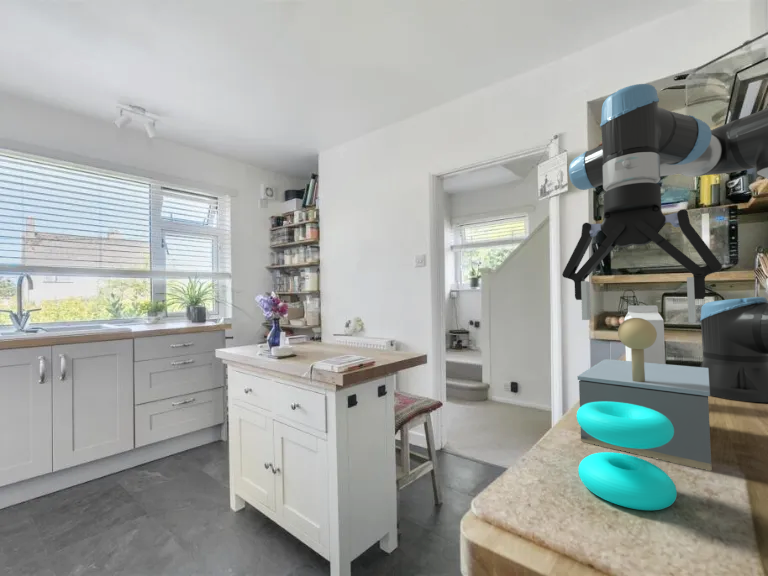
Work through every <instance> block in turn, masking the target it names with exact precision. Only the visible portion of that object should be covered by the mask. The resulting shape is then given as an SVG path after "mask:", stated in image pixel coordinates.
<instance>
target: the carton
mask: <svg viewBox="0 0 768 576" xmlns="http://www.w3.org/2000/svg"><path fill="white" fill-rule="evenodd" d="M578 392H579V393H578V394H579V408H580V407H581V406H582V405H584V404H587V403H591V402H599V401H608V402H621V403H628V404H634V405H639V406H643V407H646V408H650V409H652V410H655V411H657V412H659V413H661V414H663V415H664V416H666V417H667V418H668V419H669V420H670V421H671V423H672V425H673V427H674V435H673V437H672V439H671V440H670V441H669V442H668V443H666V444H665V445H662V446H660V447H656V448H649V449H635V448H626V447H621V446H616V445H612V444H609V443H606V442H603V441H601V440H598V439H596V438H594V437H593V436H591V435H589V434H588V433H587V432H585V431H584V430H583V429H582V428H581V427H580V442H581V441H582V442H581V443H584V444H585V443H586V444H590V445H594V444H595V446H598V445H599V447H604V448H607V449H612V450H616V451H620V450H621V451H620V452H624V451H626V452H625V453H629V452H630V454H634V455H638V456H643V457H646V456H647V458H651V457H653V458H652V459H655V458H658V459H657V460H659V459H662V460H661V461H664V460H665V461H664V462H668V461H670V462H669V463H673V464H677V465H681V466H686V467H690V468H694V467H697V468H696V469H698V468H702V469H701V470H703V469H707V470H712V453H711V451H712V449H711V429H710V425H711V424H710V406H709V403H710V402H709V396H703V395H695V394H687V393H679V392H671V391H663V390H655V389H647V388H639V387H631V386H623V385H615V384H608V383H600V382H592V381H584V380H578ZM707 470H706V471H707ZM712 471H713V470H712Z"/></svg>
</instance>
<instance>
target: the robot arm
mask: <svg viewBox="0 0 768 576" xmlns="http://www.w3.org/2000/svg"><path fill="white" fill-rule="evenodd" d="M659 101H660V99H659V96H658V91H657V89H656V87H655V86H654V85H651V84H649V83H638V84H632V85H629V86H626V87H623V88H620V89H618V90H616V91H615V92H614V93H611V94H610V95H608V97H607V98H606V99H605V100H604V101H603V104H602V105H601V106H602V107H601V117H600V118H601V120H600V124H599V128H600V130H601V145H599V146H597V147H594V148H592V149H590V150H586V151H585V152H583V153H581V154H580V155H578V156H576V157H574V158H573V160H572V161H571V162H570V163H569V167H568V176H569V180H570V182H571V184H572V185H573V186H574V187H575V188H576V189H578V190H581V191H586V190H590V189H596V188H598V187H600V186H602V189H603V190H604V191H605V192H604V193H603V195H602V197H603V198H602V199H603V219H602V222H601V223H589V222H583V224H582V226H581V235H580V238H579V240H578V242H577V244H576V245H575V247H574V250H573V252H572V253H571V256H570V258H569V259H568V262H567V264H566V266H565V267H564V270H563V271H562V275H561V276H562V277H563V278H565V279H569V280H572V281H573V283H574V298H575V300H576V301H581V320H582V321H589V320H592V315H591V313H592V309H591V307H592V306H591V305H592V304H591V282H590V281H586V279H587V278H588V277H589V276H590V275H591V273H592V272H593V271H594V270H595V269H596V268H597V267H598V265H599V264H600V263H601V262H602V261H603V260H604V259H605V258H606V257H607V256H608V254H609V253H610V252H612V250H614V249H615V248H616V246H617V247H620V248H627V247H628V248H629V247H631V246H637V247H641V246H646V245H648V244H650V243H651V242H652V243H654V244H655V245H656V246H657V247H659V248H660V249H662V251H663V252H664V253H666V254H667V255H669V256H670V257H671V258H672V259H673V260H675V261H676V262H677V263H678V264H680V265H681V266H682V267H683V268H684V269H686V270H687V271H688V272H690V274H692V275H693V276H692V277H691V276H688V277H687V276H686V292H687V294H686V295H687V296H686V297H687V316H688V317H687V318H688V319H687V320H688V324H696V323H697V318H696V317H697V316H696V314H697V313H696V300H704V299H705V297H706V277H707V276H709V275H711V274H715V273H718V272H719V271H721V270H722V269H723V268H722V267H723V266H722V264H721V262H720V261H719V259H718V258H717V257H716V256H715V254H714V253H713V251H712V250H711V249H710V247H708V245H707V244H706V243H705V241H704V240H703V239H702V237H701V236H700V235H699V233H698V231H696V229H695V228H694V227H693V226H692V224H691V222H690V217H689V216H690V215H689V213H688V212H689V211H688V210H687V209H679V210H678V211H677V212H674V213H673V212H672V213H670V214H669V213H668V214H665V215H664V213H663V211H662V191H661V190H662V189H661V185H659V184H658V183H659V182H661V177H666V176H672V175H675V176H676V175H682V176H685V177H691V178H692V177H702V176H710V175H723V174H729V173H731V174H732V173H736V172H742V171H747V170H750V169H754V168H755V169H756V173H757V175H759V176H761V177H763V178H766V179H767V180H768V107H766V108H764V109H761V110H759V111H756V112H754V113H751V114H748V115H746V116H743V117H741V118H737V119H735V120H732V121H729V122H728V123H724V124H723V125H720V126H718V127H715V128H713V129H711V127H710V126H709V124H708V123H707V122H705V121H703V120H702V119H699V118H696V117H695V116H693V115H686V114H682V113H679V112H674V111H671V110H668V109H665V108H663V107H660V106H659ZM666 223H670V224H671V225H672V226H673V227H674V228H680V231H681V232H682V234H683V235H684V236H685V238H686V239H687V240H688V242H689V243H690V245H691V246H692V248H693V249H694V250H695V251H696V253H697V254H698V256H700V258H701V259H702V261H703V262H704V264H705V265H703V266H700V265H698V264H697V263H696V262H694V261H693V260H692V259H691V258H690V257H689V256H687V255H686V254H685V253H683V252H682V251H681V250H679V249H678V248H677V247H676V246H674V245H673V244H672V243H671V242H669V240H667V239H666V238H665V237H663V236H662V235H661V234H660V232H661V230H662V229H663V227H664V226H665V225H666ZM601 231H602V233H604V235H605V236H606V238H605V239H604V240H603V241H602V243H600V246H599V247H598V248H597V249H596V250H595V251H594V253H592V255H591V256H590V257H589V258H588V260H586V262H585V263H584V264H583V265H582V266H581V267H580V269H579V270H578V268H579V266H580V264H581V262H582V260H583V258H584V256H585V254H586V253H587V251H588V248H589V247H590V245H591V242H592V240H593V237H596V236H597V235H598V233H599V232H601ZM577 270H578V271H577ZM699 321H700V325H701V328H700V330H701V344H702V346H701V347H702V361H701V364H700V367H703V368H708V371H709V387H710V397H717V398H722V399H727V400H735V401H741V402H743V401H744V402H752V403H768V300H767V298H766V297H764V296H755V297H753V296H752V297H744V298H743V297H742V298H732V299H723V300H720V299H719V300H714V301H708V302H705V303H704V304H703V305H702V306H701V309H700V319H699Z"/></svg>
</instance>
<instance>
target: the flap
mask: <svg viewBox="0 0 768 576" xmlns="http://www.w3.org/2000/svg"><path fill="white" fill-rule="evenodd" d="M617 336H618V339H619V340H620V342H621V344H623V345H624V346H627V347H629V348H631V356H632V361H626V360H620V359H607V358H604V359H602V360H601V361H600V362H597V363H596V364H595V365H593V366H591V367H590V368H588V369H586V370H585V371H584V372H582V373H580V374H579V375H577V381H580V380H584V381H592V382H600V383H608V384H615V385H623V386H631V387H639V388H647V389H655V390H663V391H671V392H679V393H687V394H695V395H703V396H708V397H711V395H710V387H709V371H708V368H703V367H701V366H689V365H679V364H678V365H677V364H667V363H665V364H657V363H645V362H644V349H646V348H648V347H650V346H652V345H653V344H654V342H655V340H656V337H657V332H656V329H655V327H654V326H653V325H652V324H651V323H650V322H649V321H647V320H645V319H642V318H630V319H627V320H625V321H624V320H623V322H621V323H620V325H619V326H618V329H617Z"/></svg>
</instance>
